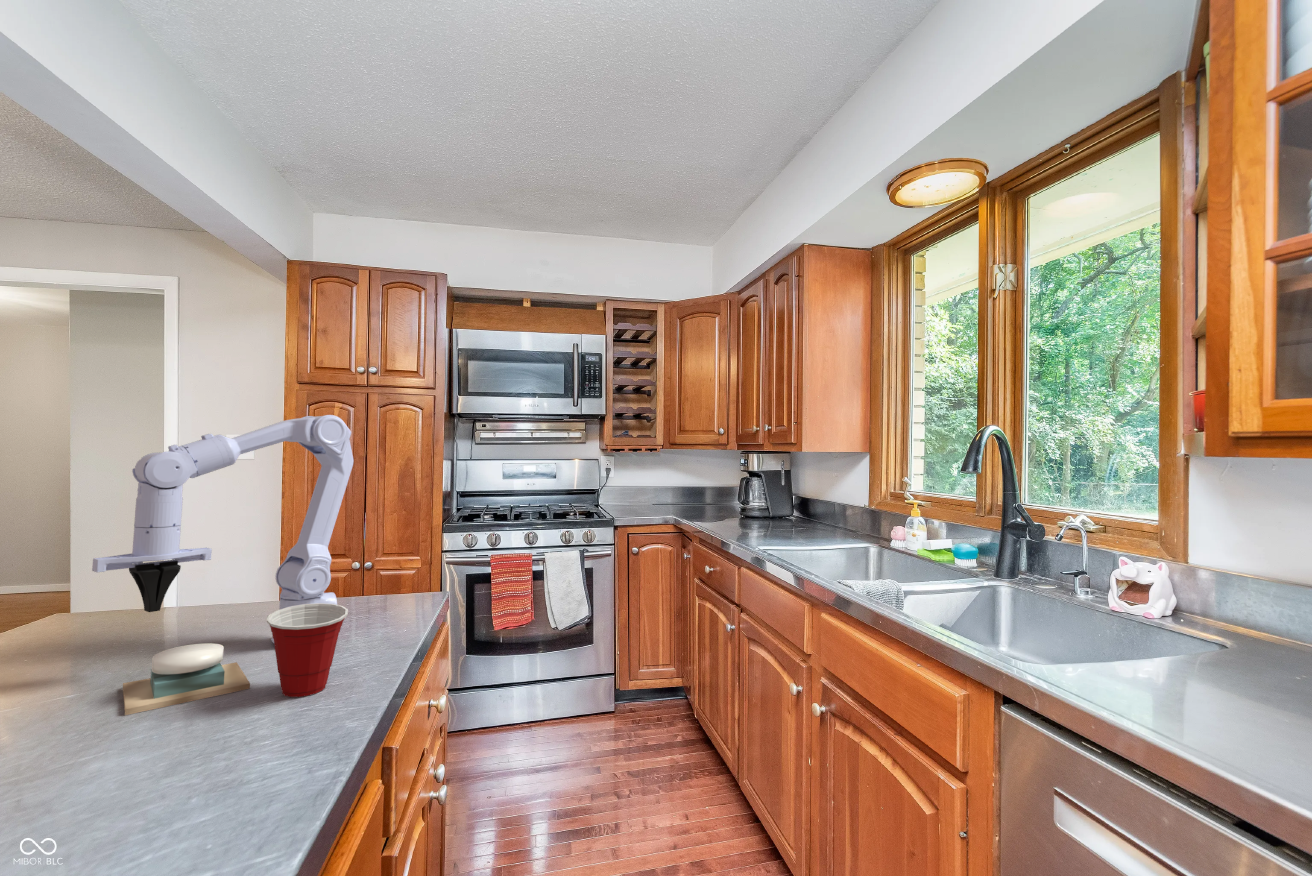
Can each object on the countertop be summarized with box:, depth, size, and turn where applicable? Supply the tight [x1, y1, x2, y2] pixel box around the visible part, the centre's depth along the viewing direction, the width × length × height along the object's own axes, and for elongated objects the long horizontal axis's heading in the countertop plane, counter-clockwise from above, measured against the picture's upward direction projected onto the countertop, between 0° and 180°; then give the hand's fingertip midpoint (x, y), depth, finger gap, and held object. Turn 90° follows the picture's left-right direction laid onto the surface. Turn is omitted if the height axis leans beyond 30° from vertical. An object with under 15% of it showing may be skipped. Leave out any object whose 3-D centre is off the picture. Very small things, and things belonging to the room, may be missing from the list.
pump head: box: [151, 642, 225, 674], centre depth 86 cm, size 8×8×4 cm
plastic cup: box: [266, 603, 349, 698], centre depth 87 cm, size 11×11×12 cm
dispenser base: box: [122, 662, 251, 716], centre depth 86 cm, size 14×12×3 cm
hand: (152, 610), depth 91 cm, fingers closed
